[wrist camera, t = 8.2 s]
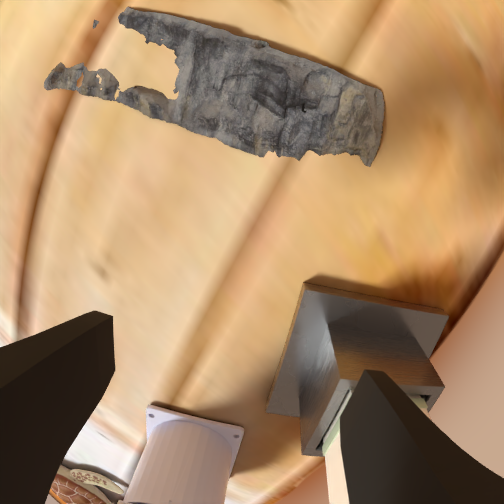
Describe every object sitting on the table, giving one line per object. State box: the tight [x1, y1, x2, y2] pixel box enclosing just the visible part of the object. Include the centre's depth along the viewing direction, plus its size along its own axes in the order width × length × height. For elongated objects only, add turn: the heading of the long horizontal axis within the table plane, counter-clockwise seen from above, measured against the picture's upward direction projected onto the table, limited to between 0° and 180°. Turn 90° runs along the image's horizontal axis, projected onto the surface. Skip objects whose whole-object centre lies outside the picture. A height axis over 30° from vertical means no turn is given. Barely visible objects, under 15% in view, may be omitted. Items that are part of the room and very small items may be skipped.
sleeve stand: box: [266, 282, 449, 457], centre depth 17 cm, size 10×10×6 cm
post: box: [322, 390, 432, 504], centre depth 12 cm, size 4×4×8 cm
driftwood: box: [44, 7, 384, 167], centre depth 15 cm, size 21×7×2 cm, turn 66°
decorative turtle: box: [51, 465, 124, 504], centre depth 28 cm, size 18×17×5 cm
